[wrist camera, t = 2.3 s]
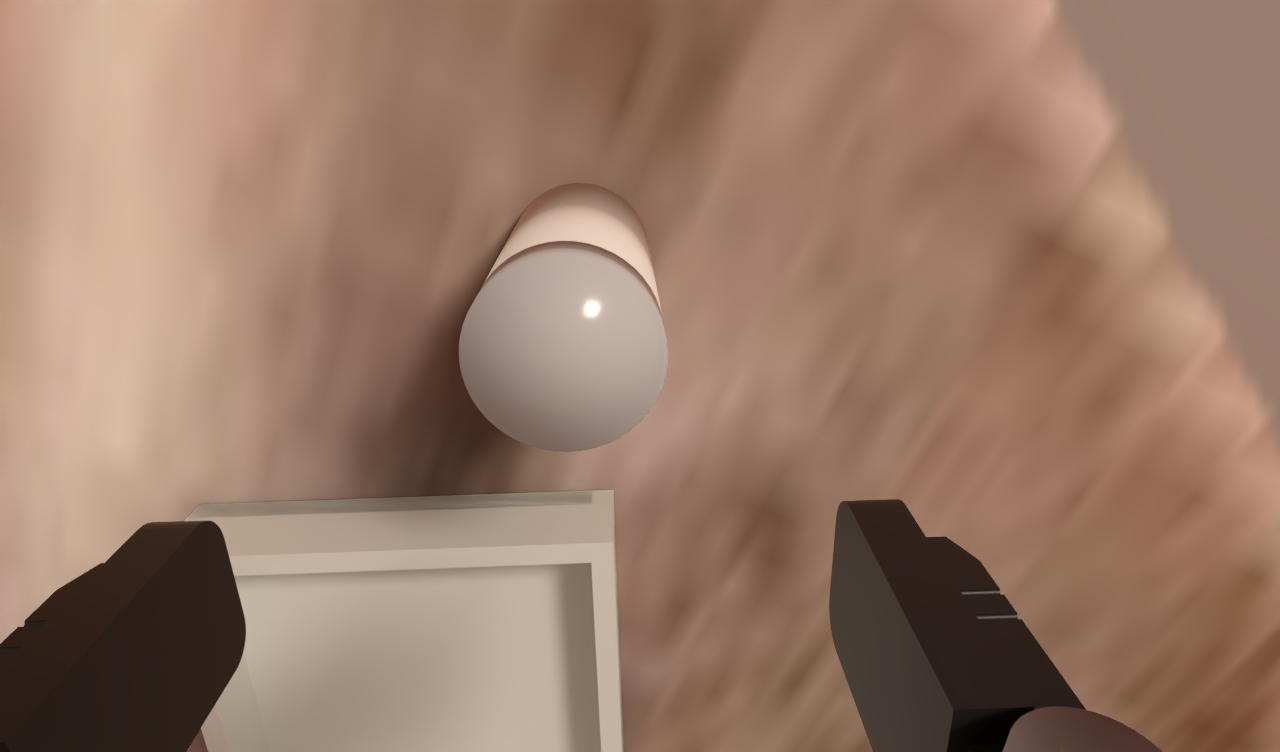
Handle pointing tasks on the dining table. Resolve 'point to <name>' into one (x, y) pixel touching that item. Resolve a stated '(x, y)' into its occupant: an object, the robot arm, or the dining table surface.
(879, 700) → the robot arm
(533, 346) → the salt shaker
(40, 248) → the dining table surface
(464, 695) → the tray
